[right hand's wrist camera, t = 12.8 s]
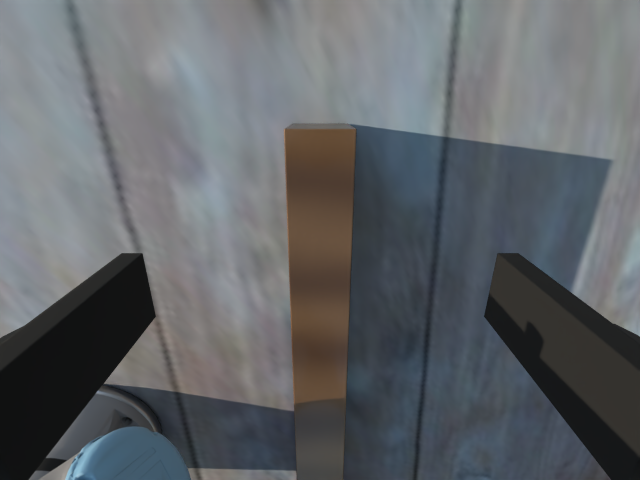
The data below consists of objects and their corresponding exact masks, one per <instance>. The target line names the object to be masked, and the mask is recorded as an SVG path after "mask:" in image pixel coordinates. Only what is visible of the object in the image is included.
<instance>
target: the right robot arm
mask: <svg viewBox="0 0 640 480" xmlns="http://www.w3.org/2000/svg"><path fill="white" fill-rule="evenodd" d="M155 317H156V315H155V311H154V306H153V301H152V296H151V292H150V287H149V282H148V277H147V273H146V268H145V263H144V259H143V254H142V253H122V254H120V255H119V256H117V257H116V258H115V259H113V260H112V261H111V262H109V263H108V264H107V265H105V266H104V267H103V268H101V269H100V270H99V271H97V272H96V273H95V274H93V275H92V276H91V277H89V278H88V279H87V280H85V281H84V282H83V283H81V284H80V285H79V286H77V287H76V288H75V289H73V290H72V291H71V292H69V293H68V294H66V295H65V296H64V297H62V298H61V299H60V300H58V301H57V302H56V303H54V304H53V305H52V306H50V307H49V308H48V309H46V310H45V311H44V312H42V313H41V314H40V315H38V316H37V317H36V318H34V319H33V320H32V321H30V322H29V323H28V324H26V325H25V326H23V327H21V328H19V329H17V330H15V331H13V332H11V333H9V334H7V335H5V336H3V337H2V338H0V480H29V479H30V477H31V476H32V475H33V473H34V472H35V471H36V470H37V468H38V467H39V466H40V465H41V463H42V462H43V461H44V459H45V458H46V457H47V456H48V454H49V453H50V452H51V450H52V449H53V448H54V447H55V445H56V444H57V443H58V441H59V440H60V439H61V438H62V436H63V435H64V434H65V432H66V431H67V430H68V429H69V427H70V426H71V425H72V423H73V422H74V421H75V420H76V418H77V417H78V416H79V414H80V413H81V412H82V411H83V409H84V408H85V407H86V405H87V404H88V403H89V402H90V400H91V399H92V398H93V396H94V395H95V394H96V393H97V391H98V390H99V389H100V387H101V386H102V385H103V384H104V382H105V381H106V380H107V378H108V377H109V376H110V375H111V373H112V372H113V371H114V369H115V368H116V367H117V366H118V364H119V363H120V362H121V361H122V359H123V358H124V357H125V355H126V354H127V353H128V352H129V350H130V349H131V348H132V346H133V345H134V344H135V343H136V341H137V340H138V339H139V337H140V336H141V335H142V334H143V332H144V331H145V330H146V328H147V327H148V326H149V325H150V323H151V322H152V321H153V319H154V318H155ZM484 317H485V318H486V319H487V321H488V322H489V323H490V325H491V326H492V327H493V328H494V330H495V331H496V332H497V334H498V335H499V336H500V337H501V339H502V340H503V341H504V343H505V344H506V345H507V346H508V348H509V349H510V350H511V352H512V353H513V354H514V355H515V357H516V358H517V359H518V361H519V362H520V363H521V364H522V366H523V367H524V368H525V369H526V371H527V372H528V373H529V375H530V376H531V377H532V378H533V380H534V381H535V382H536V384H537V385H538V386H539V387H540V389H541V390H542V391H543V393H544V394H545V395H546V396H547V398H548V399H549V400H550V402H551V403H552V404H553V405H554V407H555V408H556V409H557V411H558V412H559V413H560V414H561V416H562V417H563V418H564V420H565V421H566V422H567V423H568V425H569V426H570V427H571V429H572V430H573V431H574V432H575V434H576V435H577V436H578V438H579V439H580V440H581V441H582V443H583V444H584V445H585V447H586V448H587V449H588V450H589V452H590V453H591V454H592V456H593V457H594V458H595V459H596V461H597V462H598V463H599V465H600V466H601V467H602V468H603V470H604V471H605V472H606V474H607V475H608V476H609V477H610V479H611V480H640V337H639V336H638V335H636V334H634V333H632V332H630V331H628V330H626V329H624V328H622V327H620V326H618V325H616V324H612V323H611V322H610V321H608V320H607V319H606V318H604V317H603V316H602V315H600V314H599V313H598V312H596V311H595V310H594V309H592V308H591V307H590V306H588V305H587V304H586V303H584V302H583V301H582V300H580V299H579V298H578V297H576V296H575V295H574V294H572V293H571V292H569V291H568V290H567V289H565V288H564V287H563V286H561V285H560V284H559V283H557V282H556V281H555V280H553V279H552V278H551V277H549V276H548V275H547V274H545V273H544V272H543V271H541V270H540V269H539V268H537V267H536V266H535V265H533V264H532V263H531V262H529V261H528V260H527V259H525V258H524V257H523V256H521V255H520V254H518V253H498V254H497V259H496V263H495V268H494V273H493V277H492V282H491V287H490V292H489V296H488V301H487V306H486V311H485V315H484Z"/></svg>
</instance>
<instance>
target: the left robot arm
mask: <svg viewBox="0 0 640 480" xmlns="http://www.w3.org/2000/svg"><path fill="white" fill-rule="evenodd" d="M29 480H191V478H190V474H189V471H188V469H187V466H186V464H185V462H184V460H183V458H182V456H181V454H180V453H179V451H178V450H177V449H176V447H175V446H174V445H173V444H172V443H171V442H170V441H169V440H168V439H167V438H166V437H164V436H163V435H162V430H161V426H160V423H159V421H158V419H157V417H156V415H155V414H154V413H153V411H152V410H151V409H150V408H149V407H148V406H147V405H146V404H145V403H143V402H142V401H141V400H139V399H138V398H136V397H135V396H133V395H131V394H129V393H127V392H125V391H122V390H119V389H116V388H112V387H108V386H101V387H100V389H99V390H98V391H97V393H96V394H95V395H94V396H93V398H92V399H91V400H90V402H89V403H88V404H87V405H86V407H85V408H84V409H83V411H82V412H81V413H80V414H79V416H78V417H77V418H76V420H75V421H74V422H73V423H72V425H71V426H70V427H69V429H68V430H67V431H66V432H65V434H64V435H63V436H62V438H61V439H60V440H59V441H58V443H57V444H56V445H55V447H54V448H53V449H52V450H51V452H50V453H49V454H48V456H47V457H46V458H45V459H44V461H43V462H42V463H41V465H40V466H39V467H38V468H37V470H36V471H35V472H34V473H33V475H32V476H31V477H30V479H29Z"/></svg>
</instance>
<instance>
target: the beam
mask: <svg viewBox="0 0 640 480" xmlns="http://www.w3.org/2000/svg"><path fill="white" fill-rule="evenodd" d="M284 144H285V172H286V199H287V226H288V253H289V280H290V307H291V334H292V362H293V389H294V416H295V443H296V470H297V480H343V468H344V442H345V416H346V390H347V364H348V338H349V312H350V286H351V260H352V234H353V208H354V182H355V156H356V129H355V128H354V127H352V126H351V125H349V124H291V125H290V126H288V127H287V128H285V129H284Z"/></svg>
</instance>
